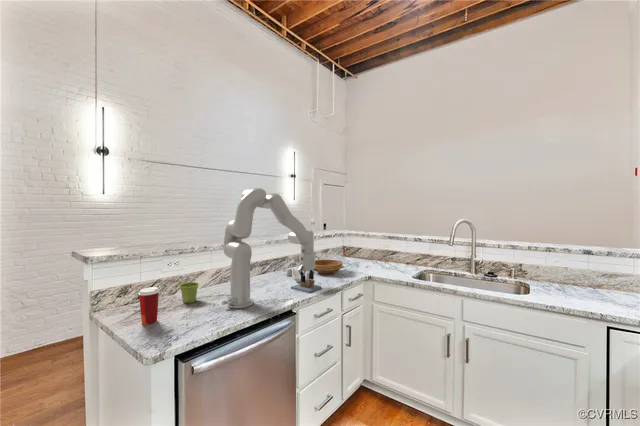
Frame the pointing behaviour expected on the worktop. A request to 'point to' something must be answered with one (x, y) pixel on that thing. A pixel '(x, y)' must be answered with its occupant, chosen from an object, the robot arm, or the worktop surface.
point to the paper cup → (149, 305)
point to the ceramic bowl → (328, 266)
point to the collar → (307, 284)
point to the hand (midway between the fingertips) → (307, 280)
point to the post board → (307, 290)
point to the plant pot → (189, 291)
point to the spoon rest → (294, 274)
